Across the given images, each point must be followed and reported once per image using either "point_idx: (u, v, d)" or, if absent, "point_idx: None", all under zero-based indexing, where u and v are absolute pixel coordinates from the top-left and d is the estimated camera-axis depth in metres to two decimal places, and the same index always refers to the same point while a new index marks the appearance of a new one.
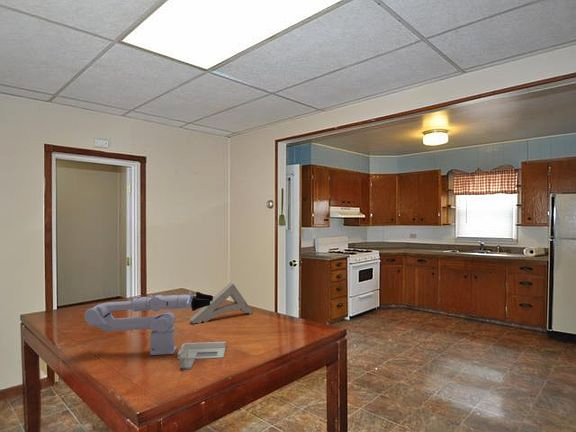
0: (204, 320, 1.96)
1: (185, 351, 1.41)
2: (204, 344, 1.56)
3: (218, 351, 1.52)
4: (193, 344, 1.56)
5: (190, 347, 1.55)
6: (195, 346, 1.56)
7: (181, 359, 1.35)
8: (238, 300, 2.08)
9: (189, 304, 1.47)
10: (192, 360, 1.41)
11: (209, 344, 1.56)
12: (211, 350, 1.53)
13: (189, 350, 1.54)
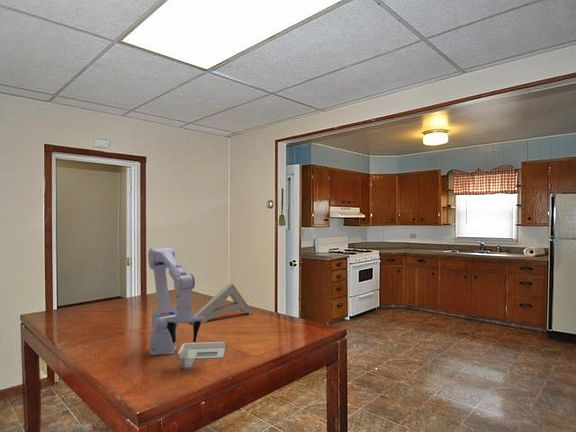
0: (204, 320, 1.96)
1: (185, 351, 1.41)
2: (204, 344, 1.56)
3: (218, 351, 1.52)
4: (193, 344, 1.56)
5: (190, 347, 1.55)
6: (195, 346, 1.56)
7: (181, 359, 1.35)
8: (237, 300, 2.08)
9: None
10: (192, 360, 1.41)
11: (209, 344, 1.56)
12: (211, 350, 1.53)
13: (189, 350, 1.54)
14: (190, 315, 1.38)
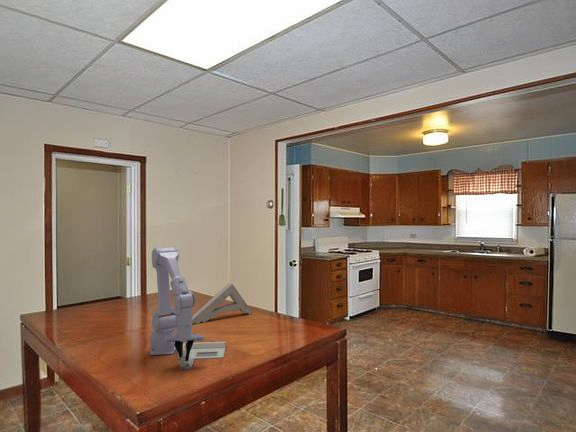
0: (203, 320, 1.96)
1: (185, 351, 1.41)
2: (204, 344, 1.56)
3: (218, 351, 1.52)
4: (193, 344, 1.56)
5: None
6: (195, 346, 1.56)
7: (181, 359, 1.35)
8: (237, 300, 2.08)
9: None
10: (192, 360, 1.41)
11: (209, 344, 1.56)
12: (211, 350, 1.53)
13: None
14: (190, 334, 1.38)
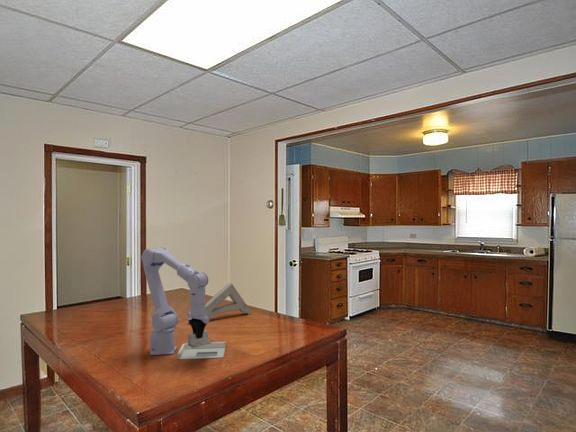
0: None
1: (204, 330, 1.48)
2: None
3: (218, 351, 1.52)
4: None
5: (190, 347, 1.55)
6: None
7: (188, 335, 1.43)
8: (236, 300, 2.07)
9: None
10: (207, 341, 1.45)
11: (209, 344, 1.56)
12: (211, 350, 1.53)
13: (189, 350, 1.54)
14: (198, 313, 1.43)
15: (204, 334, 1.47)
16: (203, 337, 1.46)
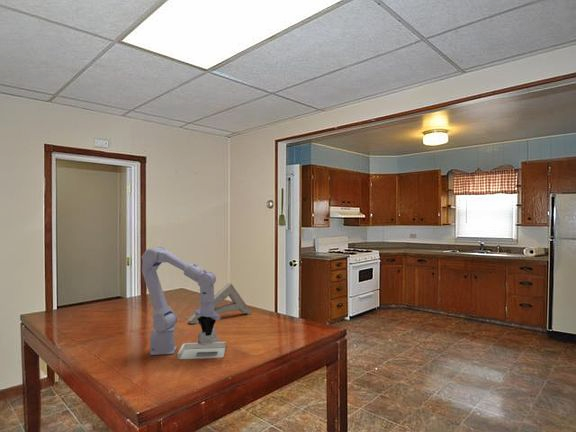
0: None
1: None
2: None
3: (218, 351, 1.52)
4: (193, 344, 1.56)
5: (190, 347, 1.55)
6: (195, 346, 1.56)
7: (198, 334, 1.48)
8: (236, 300, 2.07)
9: None
10: (216, 338, 1.51)
11: (209, 344, 1.56)
12: (211, 350, 1.53)
13: (189, 350, 1.54)
14: (208, 311, 1.48)
15: (212, 332, 1.52)
16: (212, 335, 1.51)
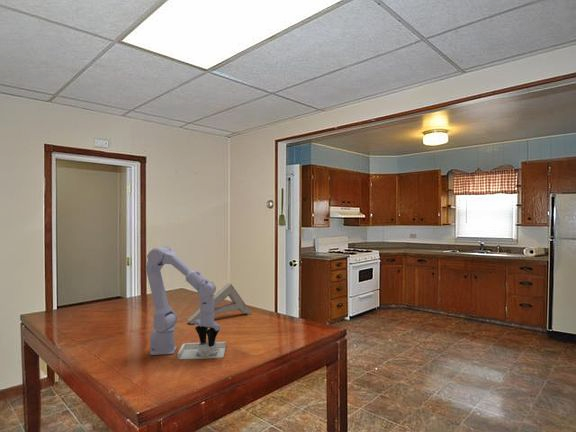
0: None
1: None
2: None
3: None
4: (193, 344, 1.56)
5: (190, 347, 1.55)
6: (195, 346, 1.56)
7: (198, 345, 1.48)
8: (236, 300, 2.07)
9: None
10: (215, 350, 1.51)
11: None
12: None
13: (189, 350, 1.54)
14: (208, 321, 1.48)
15: None
16: (212, 346, 1.51)
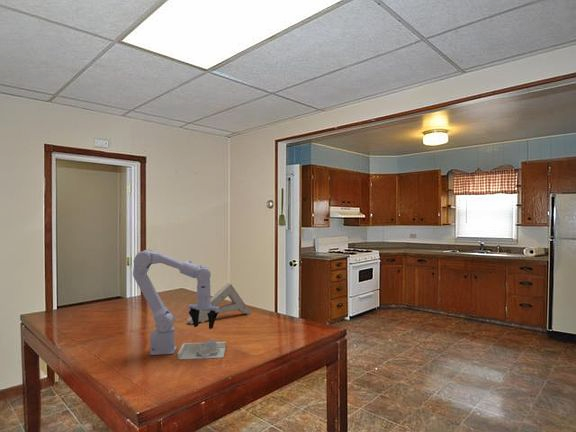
0: (201, 320, 1.95)
1: (212, 340, 1.53)
2: None
3: None
4: (193, 344, 1.56)
5: (190, 347, 1.55)
6: (195, 346, 1.56)
7: (198, 345, 1.48)
8: (235, 300, 2.07)
9: None
10: (215, 350, 1.51)
11: None
12: None
13: (189, 350, 1.54)
14: (206, 304, 1.54)
15: (212, 343, 1.52)
16: (212, 346, 1.51)
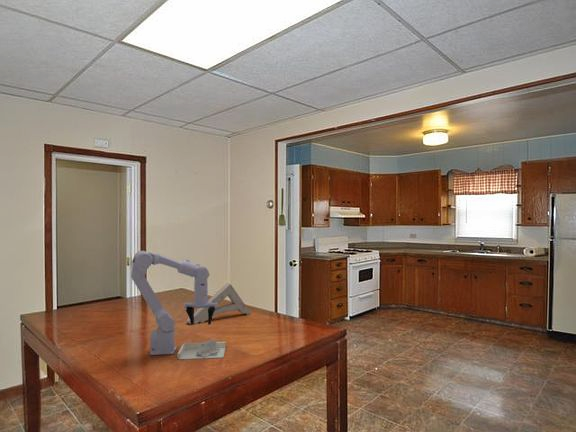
0: (201, 321, 1.95)
1: (212, 340, 1.53)
2: None
3: None
4: (193, 344, 1.56)
5: (190, 347, 1.55)
6: (195, 346, 1.56)
7: (198, 345, 1.48)
8: (235, 300, 2.07)
9: None
10: (215, 350, 1.51)
11: None
12: None
13: (189, 350, 1.54)
14: (205, 301, 1.60)
15: (212, 343, 1.52)
16: (212, 346, 1.51)
